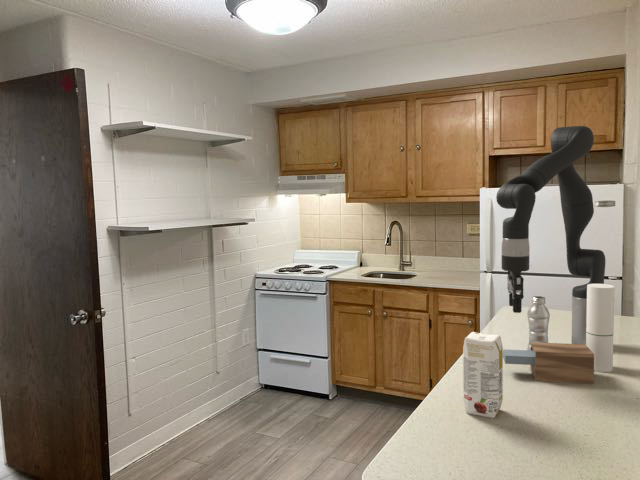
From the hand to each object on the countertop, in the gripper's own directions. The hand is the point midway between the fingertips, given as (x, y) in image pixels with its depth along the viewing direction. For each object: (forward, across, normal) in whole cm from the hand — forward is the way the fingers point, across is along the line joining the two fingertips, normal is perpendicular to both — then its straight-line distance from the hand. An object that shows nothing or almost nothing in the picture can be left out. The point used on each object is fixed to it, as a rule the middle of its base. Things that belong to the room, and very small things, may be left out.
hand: (515, 309), depth 151 cm
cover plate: (+15, 0, -7) cm, 17 cm away
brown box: (+19, 0, -12) cm, 23 cm away
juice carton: (+20, -28, +11) cm, 36 cm away
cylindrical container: (+20, +9, -25) cm, 33 cm away
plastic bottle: (+20, +15, -9) cm, 26 cm away
